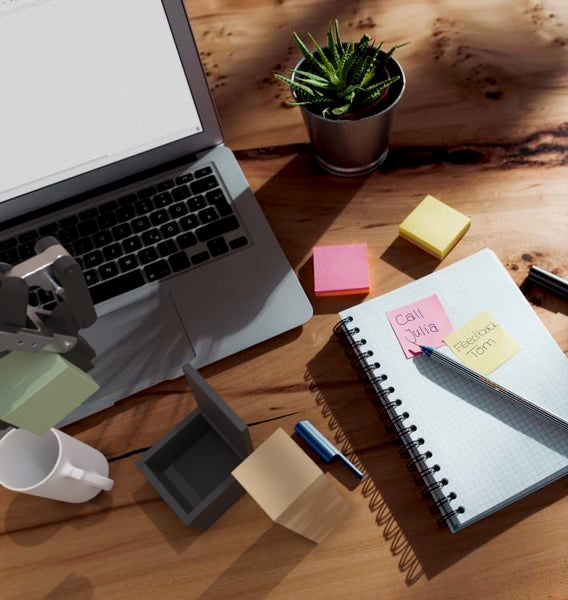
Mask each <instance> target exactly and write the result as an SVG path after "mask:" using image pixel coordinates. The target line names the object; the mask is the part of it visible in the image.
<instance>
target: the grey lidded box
mask: <svg viewBox="0 0 568 600" xmlns="http://www.w3.org/2000/svg"><path fill="white" fill-rule="evenodd" d="M245 459H246V458H245V457H244V456H243V455H242V454H241V453H240V451H239V450H238V449H237V448H236V447H235V446H234V445H233V444H232V443H231V441H230V440H229V439H228V438H227V437H226V436H225V435H224V434H223V433H222V431H221V430H220V429H219V428H218V427H217V426H216V425H215V424H214V423H213V421H212V420H211V419H210V418H209V417H208V416H207V415H206V414H205V413H204V411H203V410H202V409H201V408H200V407H199V406H198V405H197V406H196V407H195V408H194V409H193V410H191V411H190V412H189V413H188V414H186V415H185V417H183V418H182V419H181V420H180V421H179V422H178V423H177V424H176V425H174V426H173V427H172V428H171V429H170V430H169V431H168V432H167V433H166V434H165V435H163V436H162V437H161V438H160V439H159V440H158V441H156V442H155V443H154V444H153V445H152V446H151V447H150V448H148V450H146V451H145V452H144V453H143V454H142V455H141V456H140V457H138V458H137V459H136V460H135V461H134V462H133V464H134V465H135V466H136V468H137V469H138V470H139V471H140V473H141V474H142V475H143V476H144V477H145V479H146V480H147V481H148V483H149V484H151V486H152V487H153V488H154V490H155V491H156V492H157V493H158V494H159V496H160V497H161V498H162V499H163V501H165V503H166V504H167V506H168V507H169V508H170V509H171V511H173V513H174V514H175V515H176V516H177V517H178V519H180V521H181V522H182V523H183V525H184V526H185V527H187V528H191V529H194V530H197V531H200V532H201V531H202V532H207V531H208V530H209V529H210V528H211V527H212V526H213V525H214V524H215V523H216V522H218V520H219V519H220V518H222V516H223V515H224V514H226V513H227V512H228V511H229V510H230V509H231V508H232V507H233V506H234V505H235V504H236V503H237V502H238V501H239V500H241V498H242V497H244V495H245V494H247V493H248V492H247V491H246V489H245V488H244V487H243V486H242V485H241V484H240V483H239V482H238V480H237V479H236V478H235V477H234V476H233V475H232V474H231V473H232V472H233V471H234V470H235V469H236V468H237V467H238V466H239V465H240V464H241V463H242V462H243V461H244V460H245Z"/></svg>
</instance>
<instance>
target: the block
mask: <svg viewBox="0 0 568 600" xmlns="http://www.w3.org/2000/svg"><path fill="white" fill-rule="evenodd" d="M99 389H101V387H100V385H98V383H97V382H96V380H95V379H93V377H92V376H91V375H90V374H89V372H88V373H85V372H84V371H82V370H81V369H79V368H78V367H76V366H75V365H73V364H72V363H70V362H69V361H68V360H66V359H65V358H63V357H62V356H61V355H60V354H59V353H58V352H53V351H46V350H43V351H42V352H41V353H40V354H32V353H25V352H18V351H12V352H11V353H9V354H8V355H6V356H4V357H2V358H1V359H0V419H1V420H3V421H5V422H8V423H10V424H12V425H15V426H17V427H19V428H22V429H24V430H27V431H29V432H31V433H34V434H36V435H38V436H42V435H44V434H45V433H46V432H47V431H49V430H50V429H51V428H52V427H53V428H54V427H55V426H56V425H57V424H59V422H61V421H62V420H63V419H65V418H66V417H67V416H68V415H69V414H70V413H72V412H73V411H74V410H75V409H76V408H78V407H79V406H80V405H82V404H83V403H84V402H85V401H86V400H87V399H89V398H90V397H91V396H92V395H93V394H95V393H96V392H97V391H98V390H99Z"/></svg>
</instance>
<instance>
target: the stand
mask: <svg viewBox="0 0 568 600" xmlns="http://www.w3.org/2000/svg"><path fill="white" fill-rule="evenodd" d="M231 474H232V475H233V476H234V477H235V478H236V479H237V480H238V482H239V483H240V484H241V485H242V486H243V487H244V488H245V489H246V491H247V492H246V493H248V495H250V496H251V497H252V499H253V500H254V501H255V502H256V503H257V504H258V506H259V507H260V508H261V509H262V510H263V511H264V512H265V513H266V514H267V515H268V517H269V518H270V519H271V520H272V521H273V522H274V523H276V524H278V525H281V526H283V527H284V528H286V529H289V530H291V531H292V532H293V533H294V532H295V533H296V534H298V535H300V536H302V537H303V538H306V539H308V540H310V541H312V542H314V543H316V544H318V545H319V544H321V543H322V541H324V539H325V538H327V536H329V535H330V533H331V532H332V531H333V530H334V529H335V528H336V527H337V526H338V525H339V524H340V523H341V522H342V521H343V520H344V519H345V518H347V516H348V515H349V514H350V513H352V509H351V508H350V506H349V505H348V504H347V502H346V501H345V500H344V498H343V497H342V495H341V494H340V493H339V492H338V490H337V489H336V488H335V486H334V485H333V484H332V482H331V481H330V479H329V478H328V476H327V475H326V474H325V473H324V472H323V470H321V468H320V467H319V466H318V465H317V464H316V463H315V462H314V461H313V460H312V458H310V457H309V456H308V455H307V453H305V451H304V450H303V449H302V448H301V447H300V446H299V445H298V444H297V443H296V442H295V441H294V440H293V438H292V437H291V436H290V435H289V434H288V433H287V432H286V431H285V430H284V429H283V428H282V427H281V426H280V427H278V428H277V429H276V430H275V431H274V432H273V433H272V434H270V435H269V437H268V438H267V439H265V440H264V441H263V443H261V444H260V445H259V446H258V447H256V448H255V449H254V452H253V453H252V454H251V455H250V456H249V457H248V458H246V459H245V460H244V461H243V462H242V463H241V464H240V465H239V466H238V467H237V468H236V469H235V470H234V471H233V472H232V473H231Z"/></svg>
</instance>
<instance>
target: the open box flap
mask: <svg viewBox="0 0 568 600" xmlns="http://www.w3.org/2000/svg"><path fill="white" fill-rule="evenodd" d="M181 369H182V372H183V374H184V376H185V379H186V381H187V384H188V386H189V388H190V391H191V393H192V396H193V398H194V400H195V403H196V405H197V406H199V407H200V408H201V409H202V410H203V411H204V413H205V414H206V415H207V416H208V417H209V418H210V419H211V420H212V421H213V423H214V424H215V425H216V426H217V427H218V428H219V429H220V430H221V431H222V433H223V434H224V435H225V436H226V437H227V438H228V439H229V440H230V441H231V443H232V444H233V445H234V446H235V447H236V448H237V449H238V450H239V451H240V453H241V454H242V455H243V456H244V457H245V458H248V457H249V456H250V455H251V454H252V453H253V452H254V451H255V449H254V445H253V441H252V437H251V433H250V430H249V426H248V425H247V424H246V423H245V422H244V420H243V419H242V418H240V417H241V416H239V415H238V414H237V413H236V412H235V411H234V409H233V408H232V407H231V406H230V405H229V404H228V403H227V402H226V401H225V400H224V399H223V398H222V397H221V395H219V393H218V392H217V391H216V390H215V389H214V388H213V387H212V385H210V383H209V382H208V381H207V380H206V379H205V378H204V377H203V376H202V375H201V374H200V373H199V371H198V370H197V369H195V367H194V366H193V365H192V364H191V363H190V362H189V361H186V362H185V363H184V364H183V365H181Z"/></svg>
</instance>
